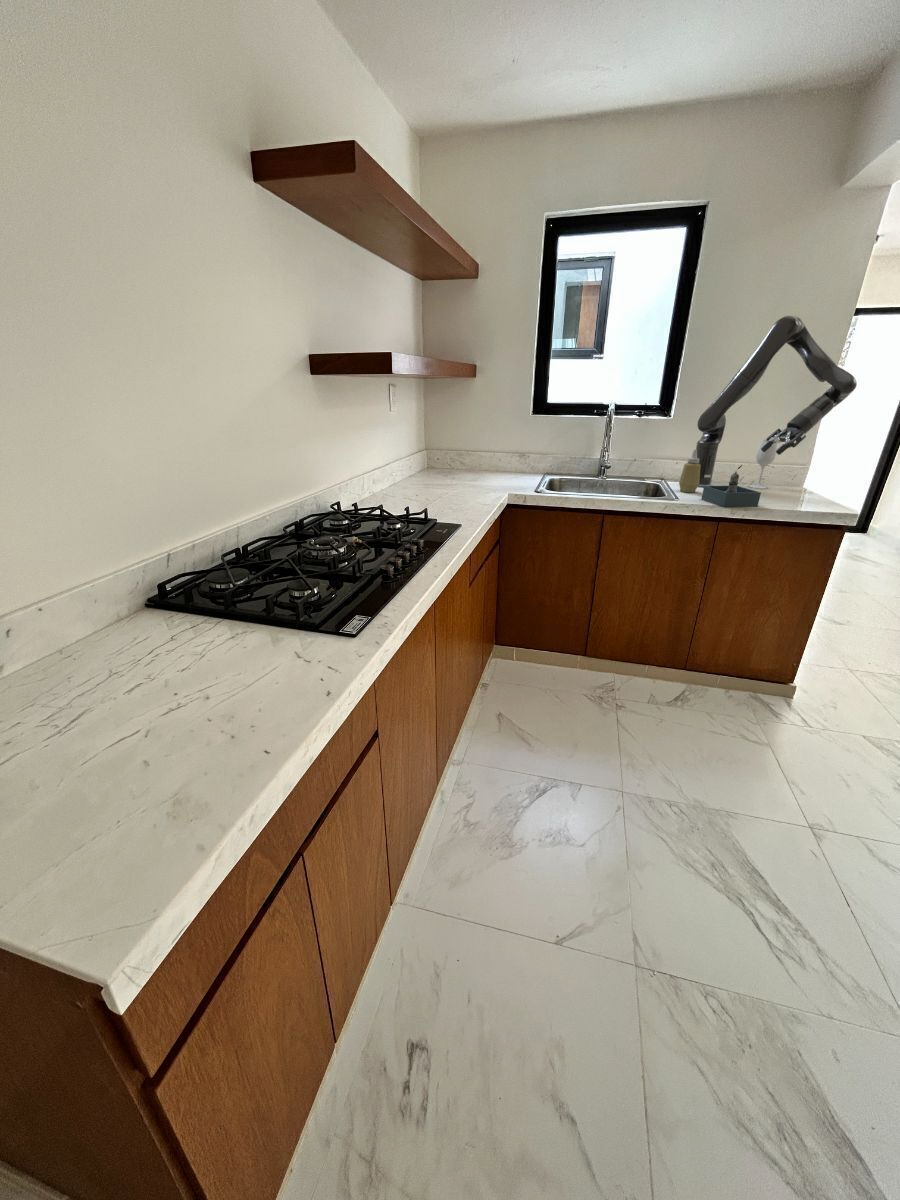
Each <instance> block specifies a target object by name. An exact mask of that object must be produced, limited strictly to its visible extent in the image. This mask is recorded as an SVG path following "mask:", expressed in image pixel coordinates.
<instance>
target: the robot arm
mask: <svg viewBox="0 0 900 1200" xmlns="http://www.w3.org/2000/svg"><path fill="white" fill-rule="evenodd" d="M786 344H787V345H788V346H790V347H791V348H792V349H794V350H795V351H796V352H797V354H798V355H799V357H800V358H801V359H802V361H803V363H804V365H805V367H806V368H807V369H808V371H809V372H810V373H811V374H812V375H813V376H814V378H815V379H816V380H817V381H818V382H820V383H828V384H829V385H831V386H830V387H829V388H828V389H827V390H826V391H825V392H824V393H822V395H820V396H818V397H817V398H816V399H814V400H813V401H812V402H810V404H809V405H807V406H806V407H805V408H803V409H802V410H801V411H799V412H798V413H797V414H796V415H795V416H794V417H793V418H791V419H790V420H789V421H788V422H787V423H786V428H784V429H783V430H782V429H781V428H777V429H776V430H774V431H773V432H772V433H771V434H770V435H768V437H766V438H765V440H767V441H768V442H767V443H766V444H765V445H764V446H762V447H761V450H762V451H763V452H765V451H767V450H768V449H769V448H770V447H771V446H772V445H774V444H776V443H777V444H781V443H783V444H781V446H779V447H777V450H776V455H778V456H780V455H781V454H783V453H784V452H785V451H787V449H790V448H796V447H797V446H798V445H799V444H800V443H801V442H803V440H805V438H807V435H806V434H807V433H808V432H809V431H810V430H812V429H813V428H814V427H815V426H816V425H817V424H818V423H819V422H820V421H821V420H822V419H823V418H825V417H826V416H828V414H829V413H830V412H831V411H832V410H833V409H834V408H835V407H837V406H838V405H839V404H841V403H842V402H843V401H845V399H847V398H848V397H849V396H850V395H851V394H852V393H853V392H854V391H855V390H856V388H857V386H858V382H857V379H856V378H855V377H854V375H853V374H852V373H851V372H849V371H848V370H845V369H844V368H842V367H840V366H839V365H838V364H837V363H836V362H835V361H834V360H833V359H832V358H831V357H830V355H828V353H826V352H825V350H823V348H822V347H821V346H820V345H819V344H818V343H817V341H815V339H814V337H812V335H811V334H810V332H809V330H808V328H807V326H806V324H805V323H804V322H803V320H802V319H801V317H799V316H797V315H785V316H782V317H781V318H779V319H778V320H776V322H774V324H773V325H772V326H771V328H770V329H769V331H768V332H767V334H766V335H765V337H764V338H763V339H762V341H761V342H760V344H759V346H758V347H757V348H756V349H755V350H754V352H753V353H752V354H751V355H750V356H749V357H748V359H747V360H746V361H745V362H744V364H743V365H742V366H741V367H740V368H739V369H738V370H737V372H736V373H735V374H734V376H733V377H732V378H731V380H730V381H729V382H728V384H726V386H725V387H724V388H723V390H722V391H721V392H720V394H719V395H718V396H717V397H716V398H715V400H714V401H713V402H712V403H711V404H710V405H709V406H708V407H707V408H706V409H705V410H704V411H703V413H701V415H700V416H699V417H698V420H697V424H696V425H697V429H698V431H699V432H701V433H702V436H701V437H700V439H698V440H697V441H696V445H695V450H697V458H698V459H699V463H698V464H700V465H701V467H700V479H699V485H698V487H702V488H704V486H712V480H713V475H714V470H715V465H716V460H717V455H718V450H719V447H720V444H721V442H722V439H723V436H724V434H725V433H724V431H725V428H726V422H727V418H726V413H727V412H728V411H729V410H730V409H731V407H732V406H734V405H735V404H736V403H738V402H739V401H740V400H741V399H743V398H744V397H745V396H747V394H749V393H750V392H751V391H752V390H753V389H754V388H755V386H756V385H757V384H758V383H759V381H760V380H761V379H762V377H764V374H765V373H766V370H768V367H769V365H770V363H771V362H772V360H773V358H774V357H775V356H776V355H777V354H778V352H779V351H780V350H781V349H782V348H783V347H784V346H785V345H786ZM774 440H775V441H774ZM773 441H774V442H773Z"/></svg>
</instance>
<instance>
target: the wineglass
mask: <svg viewBox="0 0 900 1200" xmlns="http://www.w3.org/2000/svg"><path fill="white" fill-rule="evenodd" d="M774 441H776V440H774ZM774 441H773V442H774ZM767 442H768V441H767V440H766V439H761V441H760V444H759V446H758V449H757V452H756V455H755V459H756V462H757V464H758V465H759V466H760V467H761V470H760V475H759V478H758V481H757V483H756V484H753V485H751V484H750V485H749V488H750V489H751V488H752V489H760V490H766V489H768V487H767V486H765V485H762V483H761V481H762V477H763V473H764V470H765V468H766V467H768V466H769V465H770V464H772V463H773V462H774V461H775V459H776V457H777V453H776V450H777V449H778V443H776V444H774V445H772V446H771V447H770V448H769V449H768V450H767V451H765V452H763V451H762V450H761V447H762V446H764V445H765V444H766V443H767Z"/></svg>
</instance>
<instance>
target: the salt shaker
mask: <svg viewBox="0 0 900 1200" xmlns="http://www.w3.org/2000/svg"><path fill="white" fill-rule="evenodd" d="M739 479H740V474H738V471H735V472H734V473H732V474H731V476H730V478H729V482H728V486H729V487H728V489H727V491H724V492H727V493H738V492H737V486H738V485H739Z"/></svg>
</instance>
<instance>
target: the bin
mask: <svg viewBox="0 0 900 1200" xmlns="http://www.w3.org/2000/svg"><path fill="white" fill-rule="evenodd" d="M728 487H729V485H711V486H704V487H703V489H702V495H701V500H703V501H705V502H708V503H710V504H713V505H716V506H719V507H722V508H749V507H750V508H751V507H752V508H753V507H754V508H755V507H759V502H760V498H761V494H762V491H761V492H760V491H758V490H754V489H751V488H746V487H743V486H739V485H737V492H738V493H727V492H724V491H727V489H728Z"/></svg>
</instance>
